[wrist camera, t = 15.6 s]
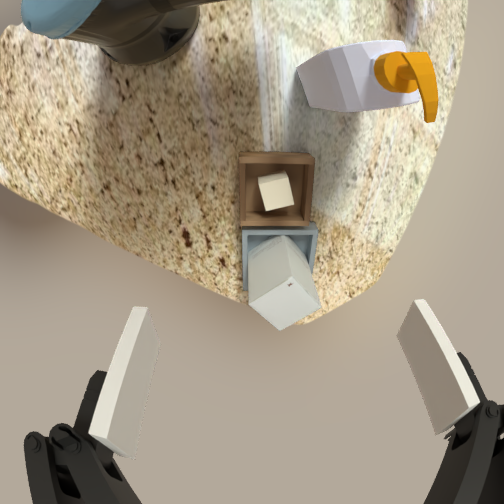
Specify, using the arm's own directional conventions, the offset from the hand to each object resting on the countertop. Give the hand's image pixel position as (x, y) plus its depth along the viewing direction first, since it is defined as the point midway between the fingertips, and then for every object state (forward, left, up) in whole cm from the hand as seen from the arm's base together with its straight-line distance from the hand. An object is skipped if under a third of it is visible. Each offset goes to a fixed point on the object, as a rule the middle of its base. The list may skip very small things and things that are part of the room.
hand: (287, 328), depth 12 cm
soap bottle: (+10, +13, -31) cm, 35 cm away
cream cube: (+2, -3, -30) cm, 30 cm away
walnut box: (+2, -3, -31) cm, 31 cm away
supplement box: (+3, -15, -30) cm, 34 cm away
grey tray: (+3, -15, -31) cm, 34 cm away
